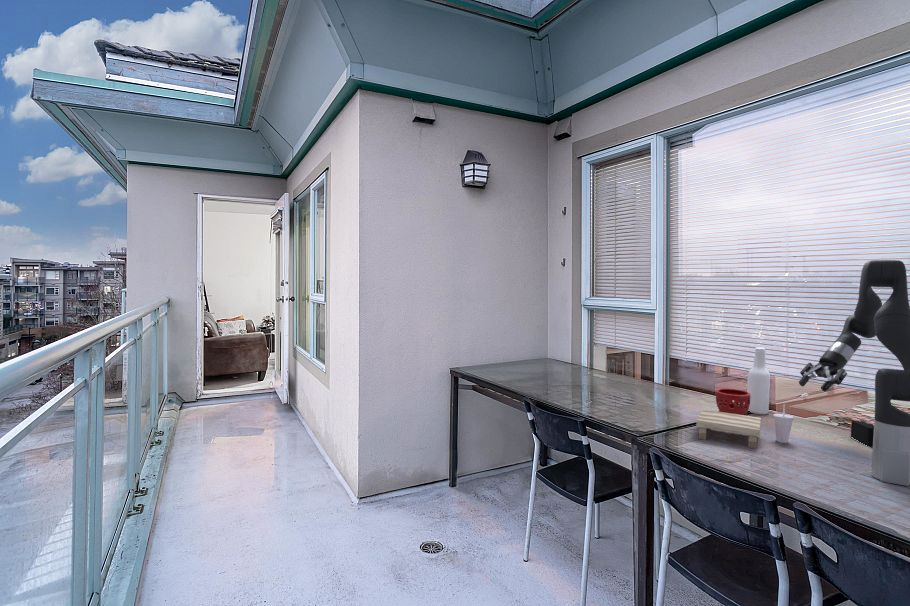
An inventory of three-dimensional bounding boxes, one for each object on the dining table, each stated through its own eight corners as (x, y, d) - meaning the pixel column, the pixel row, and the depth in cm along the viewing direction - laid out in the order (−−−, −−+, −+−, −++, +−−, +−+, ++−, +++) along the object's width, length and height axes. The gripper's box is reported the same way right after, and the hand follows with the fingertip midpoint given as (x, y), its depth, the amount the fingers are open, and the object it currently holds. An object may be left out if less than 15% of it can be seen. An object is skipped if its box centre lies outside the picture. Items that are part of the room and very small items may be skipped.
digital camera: (884, 448, 176) (886, 429, 175) (867, 446, 177) (868, 427, 176) (866, 439, 186) (867, 421, 186) (850, 438, 187) (851, 420, 187)
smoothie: (772, 442, 179) (774, 404, 178) (770, 437, 185) (772, 401, 184) (793, 445, 176) (795, 407, 175) (791, 440, 182) (793, 403, 181)
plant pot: (715, 412, 221) (716, 386, 220) (749, 417, 214) (750, 390, 214) (714, 419, 210) (715, 391, 209) (749, 424, 203) (750, 396, 202)
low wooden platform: (758, 449, 170) (759, 429, 170) (695, 438, 181) (696, 420, 181) (760, 435, 187) (761, 417, 186) (702, 426, 198) (703, 409, 197)
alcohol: (750, 408, 230) (753, 346, 229) (771, 413, 223) (774, 348, 222) (743, 411, 224) (746, 347, 223) (764, 415, 217) (767, 349, 216)
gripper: (813, 347, 190) (788, 377, 188) (851, 352, 177) (825, 384, 174) (823, 360, 192) (799, 390, 190) (861, 366, 178) (835, 398, 176)
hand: (811, 387), depth 182 cm, fingers open, 8 cm apart
